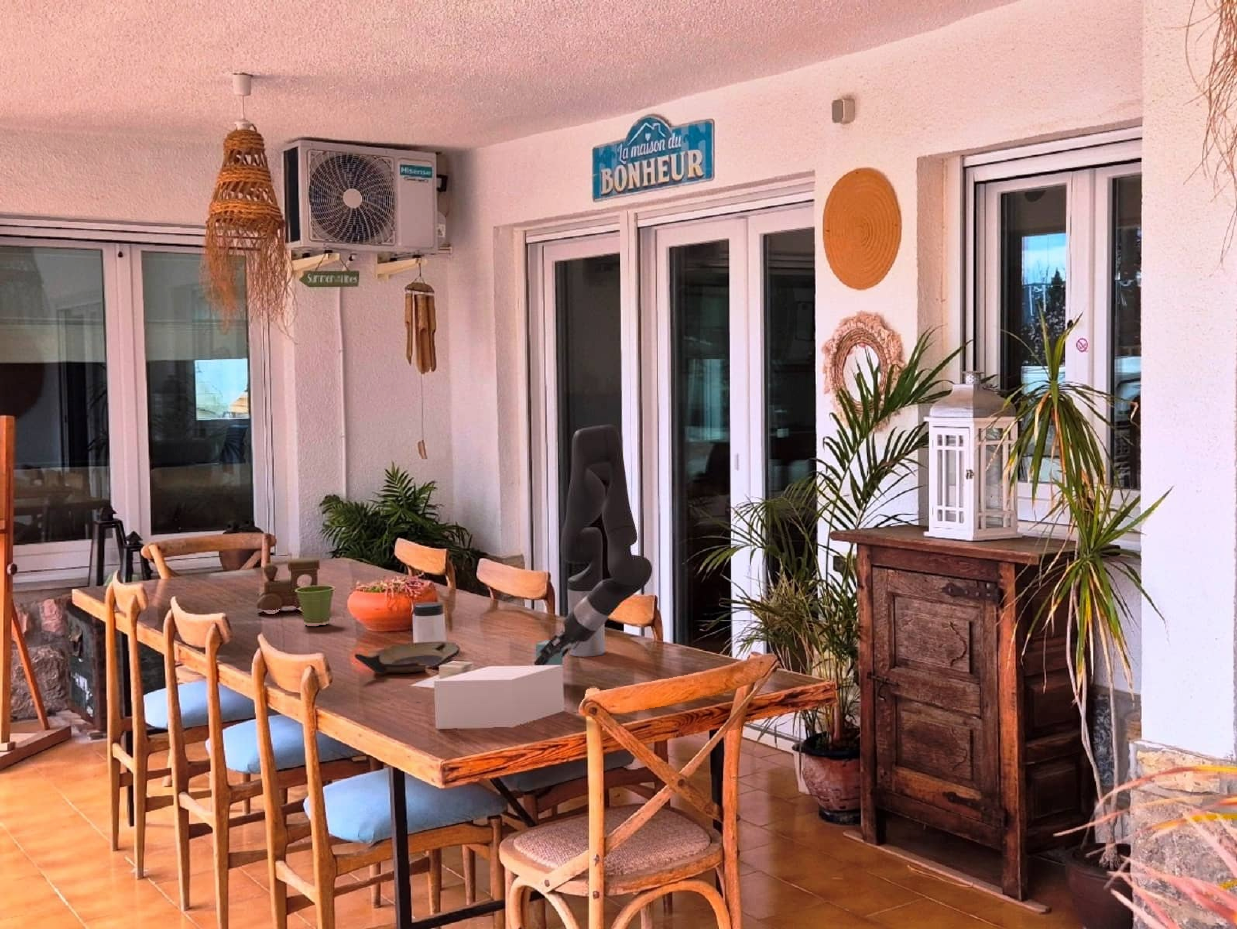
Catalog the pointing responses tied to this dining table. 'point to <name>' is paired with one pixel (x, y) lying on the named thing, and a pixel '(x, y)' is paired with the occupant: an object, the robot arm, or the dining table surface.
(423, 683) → the build board
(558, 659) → the tall block
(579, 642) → the robot arm
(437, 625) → the jar
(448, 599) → the dining table surface
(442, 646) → the oil lamp
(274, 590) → the wooden toy train
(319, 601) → the plant pot
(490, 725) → the wide white block
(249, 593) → the dining table surface
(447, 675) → the lower block
